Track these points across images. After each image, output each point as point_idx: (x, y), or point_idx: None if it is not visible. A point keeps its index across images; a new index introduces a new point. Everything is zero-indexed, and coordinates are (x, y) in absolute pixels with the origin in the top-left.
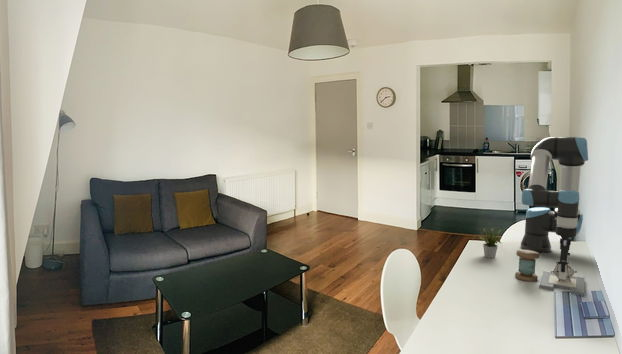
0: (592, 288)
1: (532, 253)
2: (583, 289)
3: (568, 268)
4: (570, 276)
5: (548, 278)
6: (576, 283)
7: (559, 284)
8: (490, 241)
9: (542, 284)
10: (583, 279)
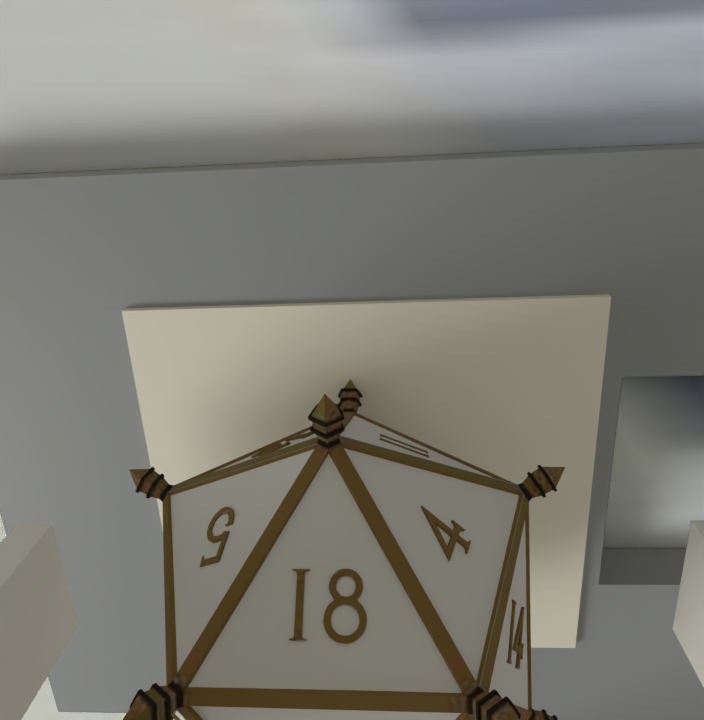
0: (255, 21)
1: None
2: (637, 167)
3: (462, 629)
4: (432, 456)
5: None
6: (344, 295)
7: (589, 522)
8: None
9: (688, 695)
10: (13, 196)
